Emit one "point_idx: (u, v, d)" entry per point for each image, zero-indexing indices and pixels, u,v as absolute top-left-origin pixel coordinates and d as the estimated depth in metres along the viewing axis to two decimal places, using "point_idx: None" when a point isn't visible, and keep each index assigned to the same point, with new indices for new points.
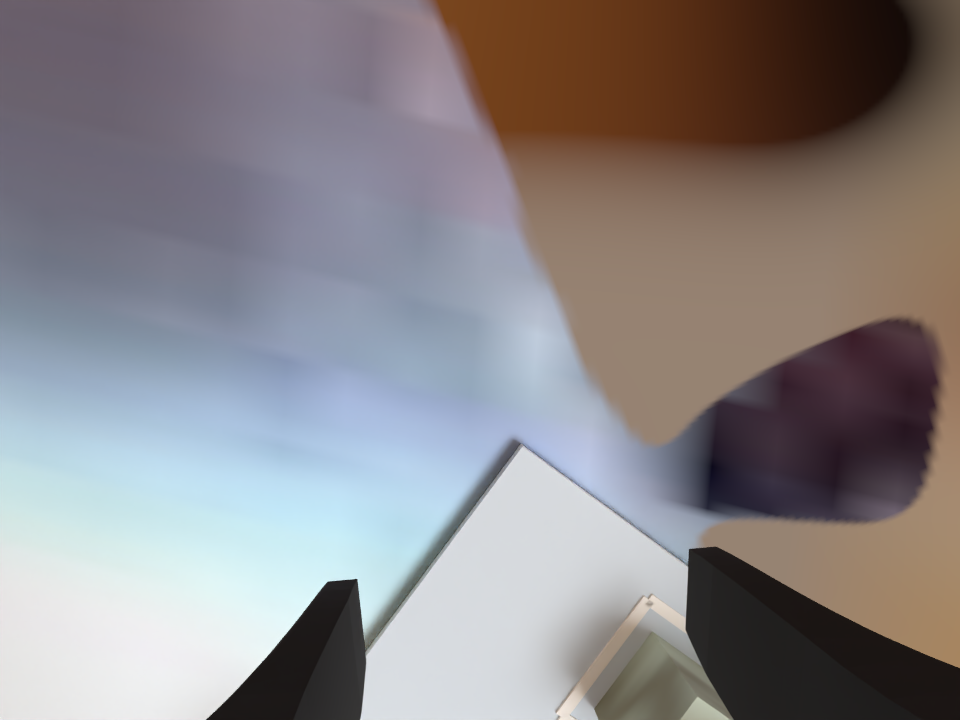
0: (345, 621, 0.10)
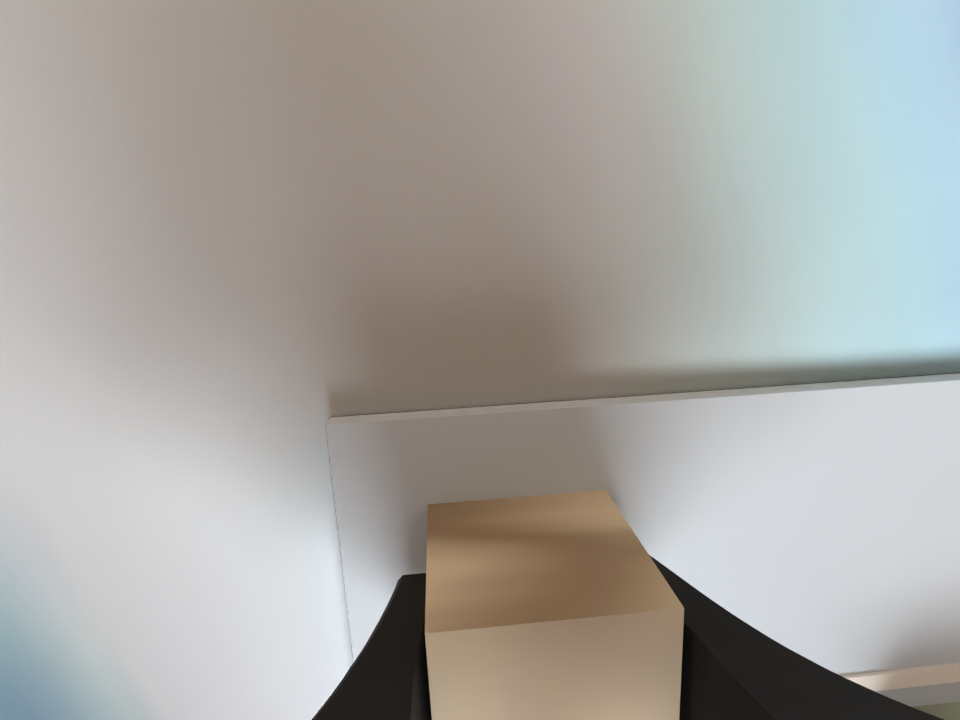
0: None
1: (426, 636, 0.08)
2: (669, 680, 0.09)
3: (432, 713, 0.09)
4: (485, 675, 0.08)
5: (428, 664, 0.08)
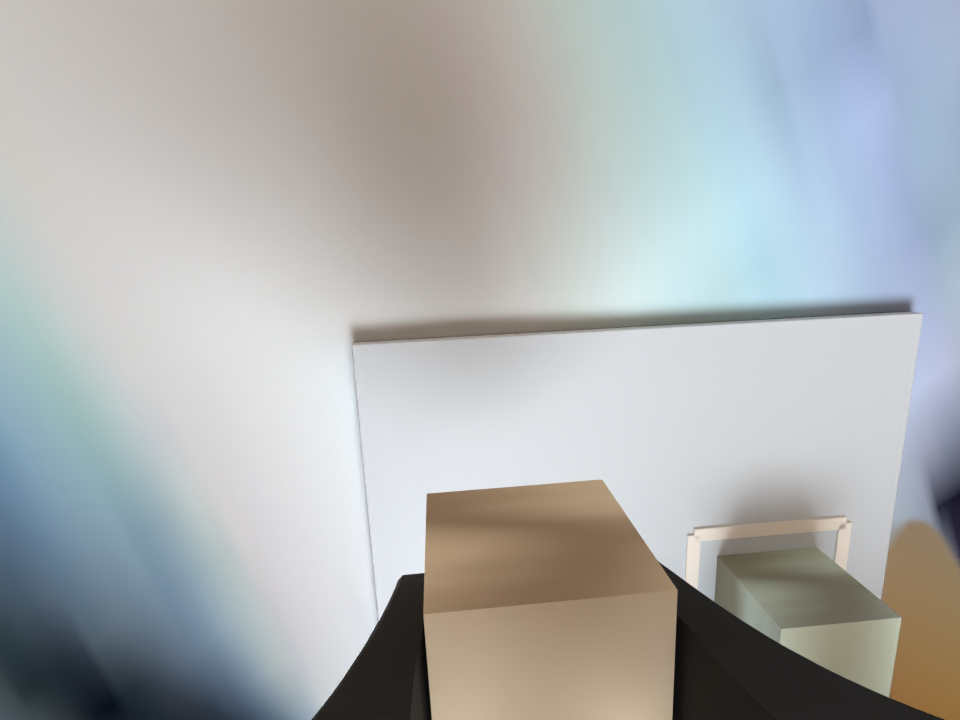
0: None
1: (425, 617, 0.08)
2: (663, 661, 0.09)
3: (431, 693, 0.09)
4: (482, 654, 0.09)
5: (427, 644, 0.09)
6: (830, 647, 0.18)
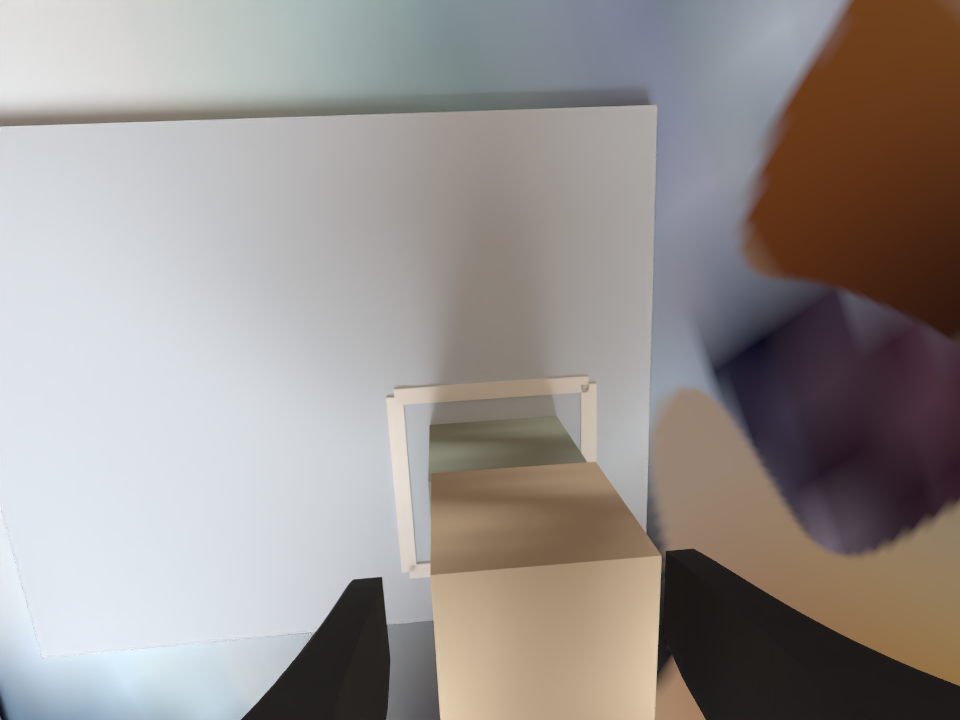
0: (373, 618, 0.10)
1: (431, 577, 0.09)
2: (648, 621, 0.10)
3: (436, 648, 0.10)
4: (484, 613, 0.10)
5: (433, 603, 0.09)
6: None
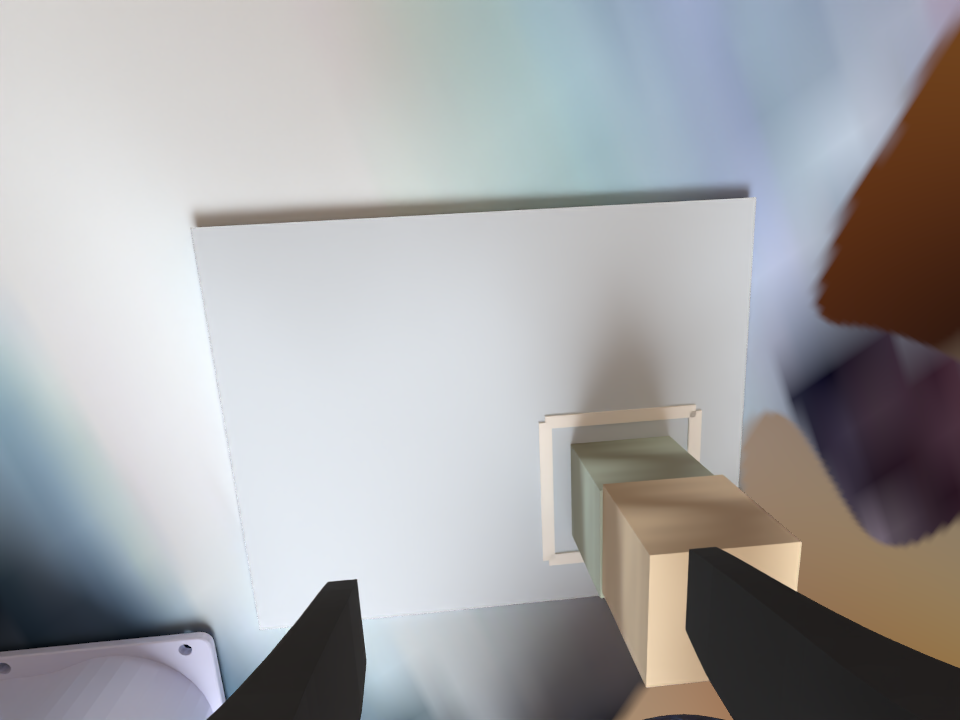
0: (345, 621, 0.10)
1: (651, 557, 0.14)
2: (790, 587, 0.14)
3: (648, 605, 0.14)
4: (682, 581, 0.14)
5: (650, 574, 0.14)
6: None
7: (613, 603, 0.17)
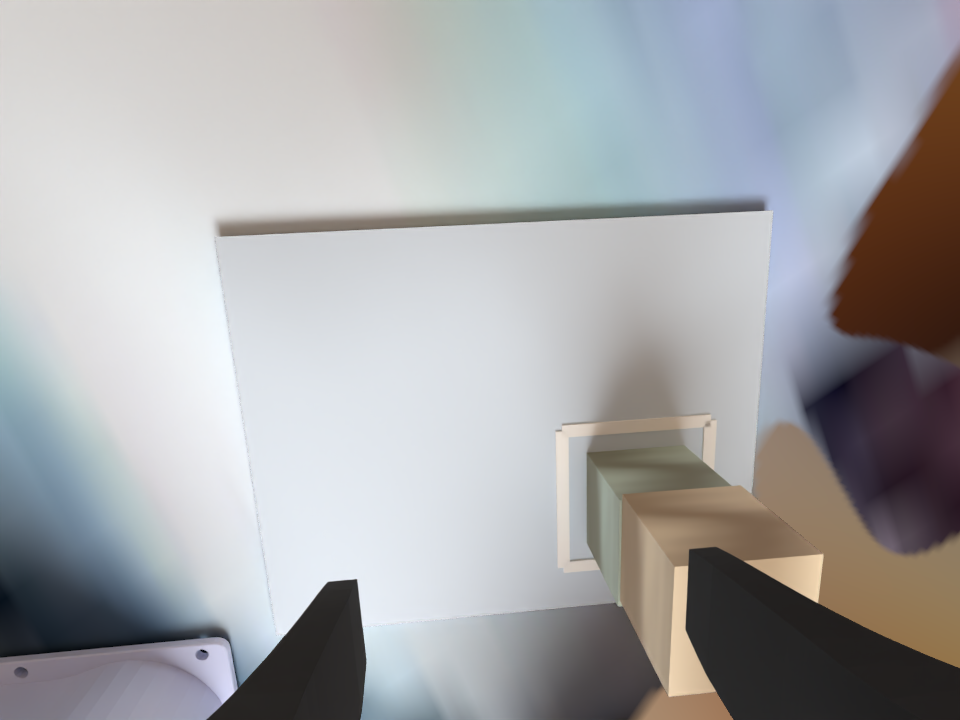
0: (345, 621, 0.10)
1: (676, 568, 0.14)
2: (811, 598, 0.15)
3: (672, 616, 0.14)
4: None
5: (674, 585, 0.14)
6: None
7: (632, 612, 0.18)
